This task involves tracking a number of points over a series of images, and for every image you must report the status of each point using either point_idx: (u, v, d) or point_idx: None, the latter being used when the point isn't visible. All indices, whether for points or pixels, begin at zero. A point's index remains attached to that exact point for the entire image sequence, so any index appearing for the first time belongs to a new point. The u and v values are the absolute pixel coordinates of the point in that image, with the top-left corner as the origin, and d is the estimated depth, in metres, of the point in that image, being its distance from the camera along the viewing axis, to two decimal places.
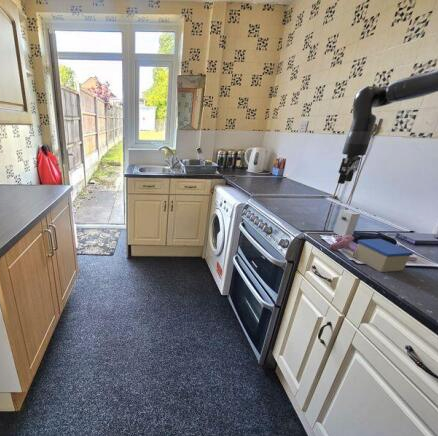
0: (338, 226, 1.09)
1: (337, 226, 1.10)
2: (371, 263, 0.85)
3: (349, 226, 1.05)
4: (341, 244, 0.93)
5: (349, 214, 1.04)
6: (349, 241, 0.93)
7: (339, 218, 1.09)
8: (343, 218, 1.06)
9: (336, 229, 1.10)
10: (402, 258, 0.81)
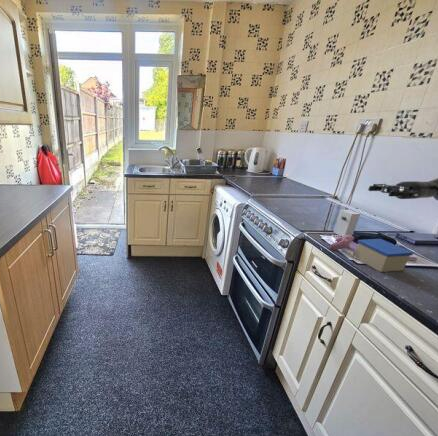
0: (338, 226, 1.09)
1: (337, 226, 1.10)
2: (371, 263, 0.85)
3: (349, 226, 1.05)
4: (341, 244, 0.93)
5: (349, 214, 1.04)
6: (349, 241, 0.93)
7: (339, 218, 1.09)
8: (343, 218, 1.06)
9: (336, 229, 1.10)
10: (402, 258, 0.81)
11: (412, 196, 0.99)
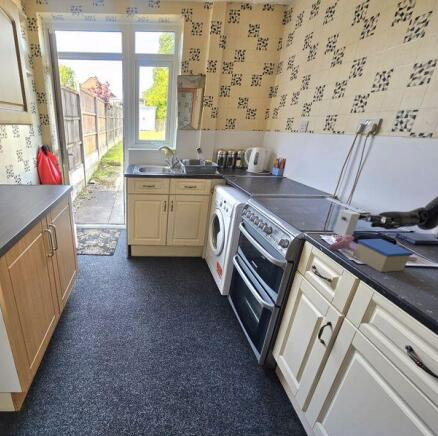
0: (338, 226, 1.09)
1: (337, 226, 1.10)
2: (371, 263, 0.85)
3: (349, 226, 1.05)
4: (341, 244, 0.93)
5: (349, 214, 1.04)
6: (349, 241, 0.93)
7: (339, 218, 1.09)
8: (343, 218, 1.06)
9: (336, 229, 1.10)
10: (402, 258, 0.81)
11: (393, 227, 1.03)
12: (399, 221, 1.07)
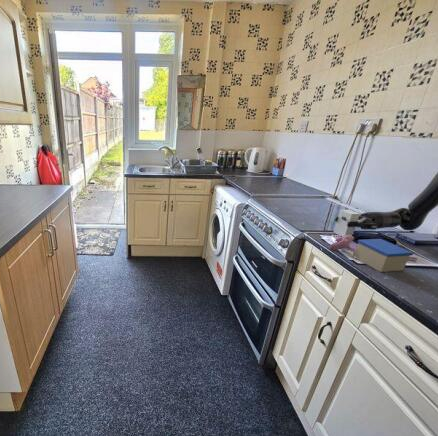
0: (338, 226, 1.10)
1: (337, 226, 1.10)
2: (371, 263, 0.85)
3: None
4: (341, 244, 0.93)
5: (349, 214, 1.04)
6: (349, 241, 0.93)
7: (339, 218, 1.09)
8: (343, 218, 1.06)
9: (336, 229, 1.10)
10: (402, 258, 0.81)
11: (370, 228, 1.02)
12: (380, 222, 1.06)
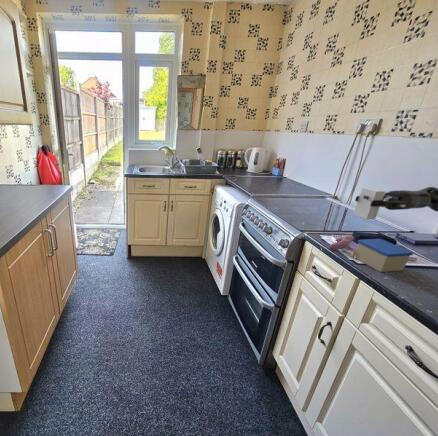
0: (359, 206, 0.96)
1: (358, 207, 0.97)
2: (371, 263, 0.85)
3: None
4: (341, 244, 0.93)
5: (373, 192, 0.91)
6: (349, 241, 0.93)
7: (360, 197, 0.96)
8: (365, 197, 0.93)
9: (357, 210, 0.97)
10: (402, 258, 0.81)
11: (397, 207, 0.89)
12: (408, 201, 0.92)
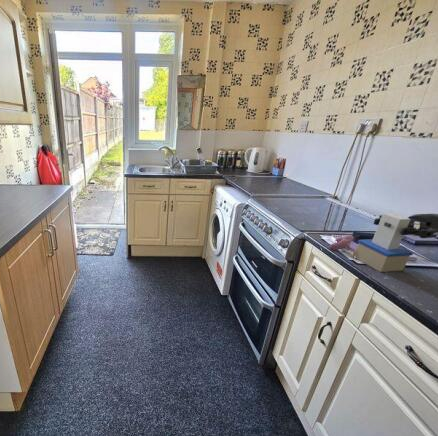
0: (378, 234, 0.85)
1: (377, 235, 0.85)
2: (371, 263, 0.85)
3: (395, 235, 0.80)
4: (341, 244, 0.93)
5: (396, 219, 0.79)
6: (349, 241, 0.93)
7: (380, 224, 0.84)
8: (387, 224, 0.81)
9: (376, 238, 0.86)
10: (402, 258, 0.81)
11: (431, 235, 0.77)
12: (437, 227, 0.80)
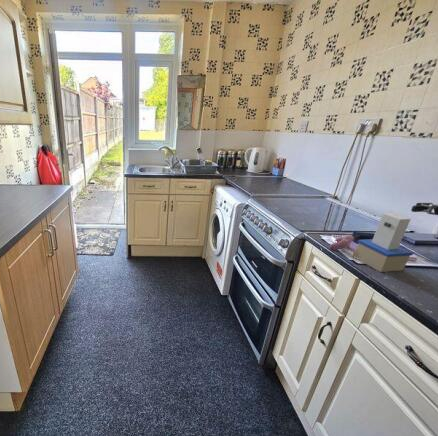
0: (378, 234, 0.85)
1: (377, 235, 0.85)
2: (371, 263, 0.85)
3: (395, 235, 0.80)
4: (341, 244, 0.93)
5: (396, 219, 0.79)
6: (349, 241, 0.93)
7: (380, 224, 0.84)
8: (387, 224, 0.81)
9: (376, 238, 0.86)
10: (402, 258, 0.81)
11: None
12: None
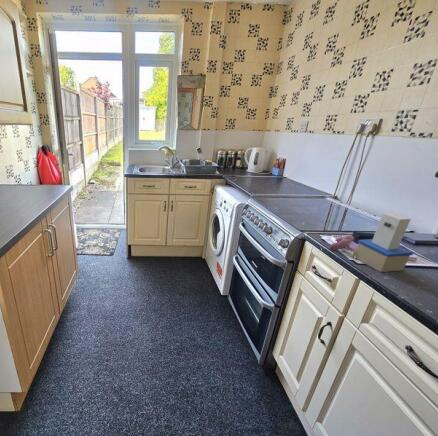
0: (378, 234, 0.85)
1: (377, 235, 0.85)
2: (371, 263, 0.85)
3: (395, 235, 0.80)
4: (341, 244, 0.93)
5: (396, 219, 0.79)
6: (349, 241, 0.93)
7: (380, 224, 0.84)
8: (387, 224, 0.81)
9: (376, 238, 0.86)
10: (402, 258, 0.81)
11: None
12: None
